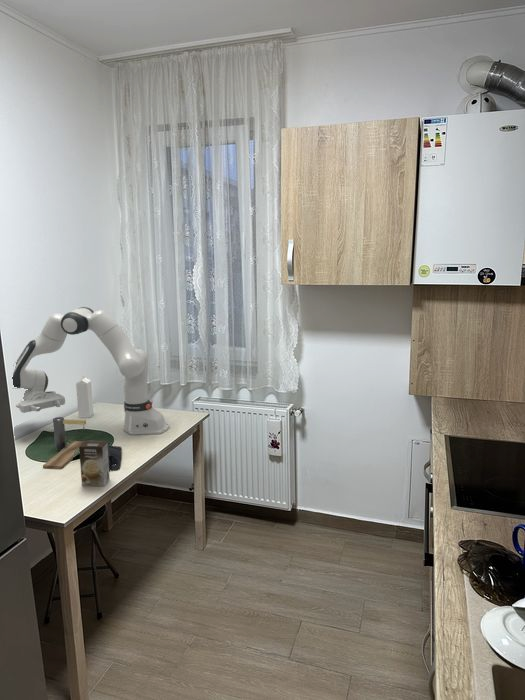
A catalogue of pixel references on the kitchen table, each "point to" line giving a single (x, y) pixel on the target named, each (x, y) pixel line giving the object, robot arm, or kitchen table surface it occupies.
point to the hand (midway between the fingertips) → (48, 407)
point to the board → (63, 456)
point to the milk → (84, 398)
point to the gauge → (63, 430)
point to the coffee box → (94, 463)
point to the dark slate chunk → (114, 457)
